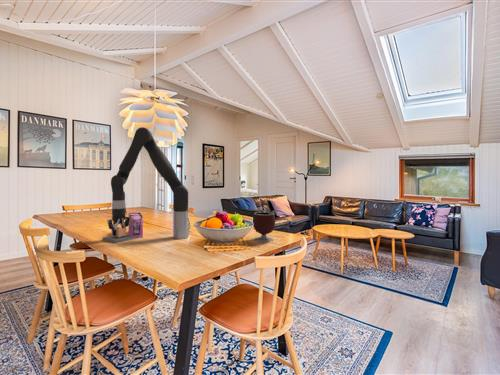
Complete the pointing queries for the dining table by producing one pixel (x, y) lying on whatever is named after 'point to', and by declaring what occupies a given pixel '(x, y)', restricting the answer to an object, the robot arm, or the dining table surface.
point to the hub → (120, 232)
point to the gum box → (136, 225)
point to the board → (118, 238)
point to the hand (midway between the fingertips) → (118, 234)
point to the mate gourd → (264, 225)
